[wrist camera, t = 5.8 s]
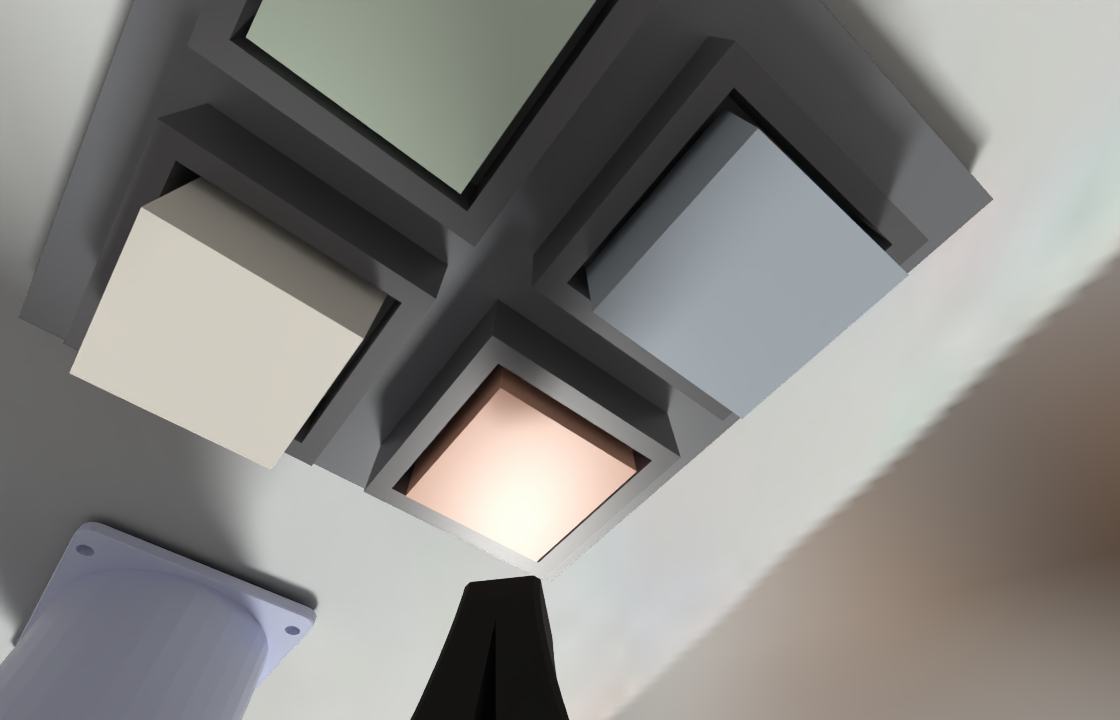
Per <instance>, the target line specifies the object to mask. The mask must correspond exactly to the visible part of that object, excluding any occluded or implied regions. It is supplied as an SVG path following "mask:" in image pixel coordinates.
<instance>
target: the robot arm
mask: <svg viewBox="0 0 1120 720" xmlns="http://www.w3.org/2000/svg"><path fill="white" fill-rule="evenodd" d="M315 620H316V613H315V612H314V611H313V610H312V609H311V608H309V607H307V606H305V605H302V604H300V603H297V602H295V601H292V600H290V599H287V598H285V597H282V596H280V595H277V594H275V593H272V592H270V591H267V590H265V589H262V588H260V587H258V586H255V585H253V584H250V583H248V582H245V581H243V580H240V579H238V578H235V577H233V576H230V575H228V574H225V573H223V572H220V571H218V570H215V569H213V568H211V567H208V566H206V565H203V564H201V563H198V562H196V561H193V560H191V559H188V558H186V557H183V556H181V555H178V554H176V553H173V552H171V551H168V550H166V549H164V548H161V547H159V546H156V545H154V544H151V543H149V542H146V541H144V540H141V539H139V538H136V537H134V536H131V535H129V534H126V533H124V532H121V531H119V530H117V529H114V528H112V527H109V526H107V525H104V524H101V523H98V522H87V523H83V524H82V525H81V526H80V527H79V529H78V530H77V531H76V532H75V533H74V535H73V536H72V538H71V540H70V542H69V544H68V546H67V548H66V550H65V552H64V554H63V556H62V558H61V559H60V561H59V563H58V565H57V567H56V569H55V571H54V573H53V575H52V577H51V579H50V581H49V582H48V584H47V586H46V588H45V590H44V592H43V594H42V596H41V598H40V600H39V602H38V604H37V605H36V607H35V609H34V611H33V613H32V615H31V617H30V619H29V621H28V623H27V625H26V627H25V628H24V630H23V632H22V634H21V636H20V638H19V640H18V642H17V644H16V646H15V647H14V649H13V650H12V651H11V652H10V654H9V655H8V656H7V657H6V658H5V660H4V661H3V662H2V663H1V665H0V720H242V718H243V716H244V713H245V711H246V708H247V706H248V704H249V701H250V699H251V696H252V694H253V692H254V691H255V690H256V689H257V688H258V687H259V686H260V685H261V683H262V682H263V681H264V680H265V679H266V678H267V677H268V676H269V675H270V673H271V672H272V671H273V670H274V669H275V668H276V667H277V666H278V665H279V664H280V662H281V661H282V660H283V659H284V658H285V657H286V656H287V655H288V654H289V653H290V651H291V650H292V649H293V648H294V647H295V646H296V645H297V644H298V643H299V642H300V640H301V639H302V638H303V637H304V636H305V635H306V634H307V633H308V632H309V630H310V629H311V628H312V627H313V625H314V622H315ZM411 720H569V718H568V715H567V712H566V708H565V705H564V702H563V699H562V695H561V692H560V688H559V685H558V681H557V678H556V671H555V663H554V652H553V640H552V634H551V629H550V624H549V619H548V614H547V609H546V604H545V599H544V594H543V589H542V585H541V580H540V579H539V578H537V577H536V576H534V575H533V576H524V577H515V578H505V579H496V580H486V581H477V582H470V583H469V584H468V585H467V586H466V587H465V589H464V592H463V595H462V598H461V601H460V604H459V607H458V610H457V613H456V616H455V618H454V621H453V624H452V626H451V629H450V631H449V634H448V637H447V639H446V641H445V644H444V646H443V649H442V651H441V654H440V656H439V659H438V661H437V663H436V665H435V668H434V670H433V672H432V674H431V677H430V679H429V681H428V683H427V686H426V688H425V690H424V692H423V694H422V697H421V699H420V701H419V703H418V705H417V707H416V710H415V712H414V714H413V716H412V718H411Z"/></svg>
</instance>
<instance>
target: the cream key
mask: <svg viewBox="0 0 1120 720" xmlns="http://www.w3.org/2000/svg"><path fill="white" fill-rule="evenodd" d="M386 296H387V293H385V292H384V291H382V290H381V289H379V288H377V287H376V286H374V285H373V284H371V283H369V282H368V281H366V280H365V279H363V278H361V277H360V276H358V275H357V274H355V273H354V272H352V271H350V270H349V269H347V268H346V267H344V266H342V265H341V264H339V263H338V262H336V261H335V260H333V259H331V258H330V257H328V256H327V255H325V254H323V253H322V252H320V251H319V250H317V249H315V248H314V247H312V246H311V245H309V244H308V243H306V242H304V241H303V240H301V239H300V238H298V237H296V236H295V235H293V234H292V233H290V232H289V231H287V230H285V229H284V228H282V227H281V226H279V225H277V224H276V223H274V222H273V221H271V220H269V219H268V218H266V217H265V216H263V215H262V214H260V213H258V212H257V211H255V210H254V209H252V208H250V207H249V206H247V205H246V204H244V203H242V202H241V201H239V200H238V199H236V198H235V197H233V196H231V195H230V194H228V193H227V192H225V191H223V190H222V189H220V188H219V187H217V186H216V185H214V184H212V183H211V182H209V181H208V180H206V179H204V178H203V177H200V178H198V179H196V180H194V181H192V182H190V183H188V184H186V185H184V186H182V187H180V188H178V189H176V190H174V191H172V192H170V193H168V194H166V195H164V196H162V197H160V198H158V199H156V200H154V201H152V202H150V203H148V204H146V205H144V206H142V207H141V209H140V211H139V213H138V216H137V218H136V220H135V223H134V225H133V227H132V229H131V232H130V234H129V236H128V239H127V241H126V243H125V246H124V248H123V250H122V253H121V255H120V257H119V260H118V262H117V264H116V266H115V269H114V271H113V273H112V276H111V278H110V280H109V283H108V285H107V287H106V290H105V292H104V294H103V296H102V299H101V301H100V303H99V306H98V308H97V310H96V313H95V315H94V317H93V320H92V322H91V324H90V326H89V329H88V331H87V333H86V336H85V338H84V340H83V343H82V345H81V347H80V350H79V352H78V354H77V356H76V359H75V361H74V363H73V366H72V368H71V370H70V374H72V375H74V376H76V377H78V378H80V379H82V380H84V381H87V382H89V383H91V384H93V385H95V386H97V387H99V388H101V389H103V390H105V391H107V392H109V393H112V394H114V395H116V396H118V397H120V398H122V399H124V400H126V401H128V402H130V403H132V404H135V405H137V406H139V407H141V408H143V409H145V410H147V411H149V412H151V413H153V414H155V415H158V416H160V417H162V418H164V419H166V420H168V421H170V422H172V423H174V424H176V425H178V426H181V427H183V428H185V429H187V430H189V431H191V432H193V433H195V434H197V435H199V436H201V437H204V438H206V439H208V440H210V441H212V442H214V443H216V444H218V445H220V446H222V447H224V448H227V449H229V450H231V451H233V452H235V453H237V454H239V455H241V456H243V457H245V458H247V459H249V460H252V461H254V462H256V463H258V464H260V465H262V466H264V467H266V468H268V469H270V470H272V469H273V467H274V466H275V464H276V463H277V462H278V460H279V459H280V457H281V456H282V454H283V453H284V452H285V450H286V449H287V447H288V446H289V444H290V443H291V442H292V440H293V439H294V437H295V436H296V435H297V433H298V432H299V430H300V429H301V427H302V426H303V425H304V423H305V422H306V420H307V419H308V417H309V416H310V415H311V413H312V412H313V410H314V409H315V407H316V406H317V405H318V403H319V402H320V400H321V399H322V398H323V396H324V395H325V393H326V392H327V390H328V389H329V388H330V386H331V385H332V383H333V382H334V380H335V379H336V378H337V376H338V375H339V373H340V372H341V371H342V369H343V368H344V366H345V365H346V363H347V362H348V361H349V359H350V358H351V356H352V355H353V353H354V352H355V351H356V349H357V348H358V346H359V345H360V344H361V342H362V341H363V339H364V338H365V336H366V334H367V332H368V330H369V328H370V326H371V324H372V323H373V321H374V319H375V317H376V315H377V313H378V311H379V309H380V307H381V306H382V304H383V302H384V300H385V298H386Z"/></svg>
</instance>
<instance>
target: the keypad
mask: <svg viewBox="0 0 1120 720" xmlns="http://www.w3.org/2000/svg"><path fill="white" fill-rule="evenodd" d="M262 1H263V0H134V1H133V4H132V7H131V10H130V12H129V15H128V18H127V21H126V23H125V26H124V29H123V32H122V35H121V37H120V40H119V43H118V46H117V48H116V51H115V54H114V57H113V59H112V62H111V65H110V68H109V70H108V73H107V76H106V79H105V81H104V84H103V87H102V90H101V92H100V95H99V98H98V101H97V103H96V106H95V109H94V112H93V114H92V117H91V120H90V123H89V126H88V128H87V131H86V134H85V137H84V139H83V142H82V145H81V148H80V150H79V153H78V156H77V159H76V161H75V164H74V167H73V170H72V172H71V175H70V178H69V181H68V183H67V186H66V189H65V192H64V194H63V197H62V200H61V203H60V206H59V208H58V211H57V214H56V217H55V219H54V222H53V225H52V228H51V230H50V233H49V236H48V239H47V241H46V244H45V247H44V250H43V252H42V255H41V258H40V261H39V263H38V266H37V269H36V272H35V274H34V277H33V280H32V283H31V286H30V288H29V291H28V294H27V297H26V299H25V302H24V305H23V308H22V310H21V313H20V316H19V318H21V319H23V320H25V321H27V322H29V323H31V324H33V325H35V326H37V327H39V328H41V329H43V330H45V331H47V332H49V333H51V334H53V335H55V336H57V337H59V338H62V339H64V340H65V341H64V344H66V345H68V346H70V347H72V348H74V349H76V350H78V351H79V350H80V347H81V345H82V343H83V340H84V338H85V336H86V333H87V331H88V329H89V326H90V324H91V322H92V320H93V317H94V315H95V313H96V310H97V308H98V306H99V303H100V301H101V299H102V296H103V294H104V292H105V290H106V287H107V285H108V283H109V280H110V278H111V276H112V273H113V271H114V269H115V266H116V264H117V262H118V260H119V257H120V255H121V253H122V250H123V248H124V246H125V243H126V241H127V239H128V236H129V234H130V232H131V229H132V227H133V225H134V223H135V220H136V218H137V216H138V213H139V211H140V209H141V207H142V206H144V205H146V204H148V203H150V202H152V201H154V200H156V199H158V198H160V197H162V196H164V195H166V194H168V193H170V192H172V191H174V190H176V189H178V188H180V187H182V186H184V185H186V184H188V183H190V182H192V181H194V180H196V179H198V178H200V177H203V178H204V179H206V180H208V181H209V182H211V183H212V184H214V185H216V186H217V187H219V188H220V189H222V190H223V191H225V192H227V193H228V194H230V195H231V196H233V197H235V198H236V199H238V200H239V201H241V202H242V203H244V204H246V205H247V206H249V207H250V208H252V209H254V210H255V211H257V212H258V213H260V214H262V215H263V216H265V217H266V218H268V219H269V220H271V221H273V222H274V223H276V224H277V225H279V226H281V227H282V228H284V229H285V230H287V231H289V232H290V233H292V234H293V235H295V236H296V237H298V238H300V239H301V240H303V241H304V242H306V243H308V244H309V245H311V246H312V247H314V248H315V249H317V250H319V251H320V252H322V253H323V254H325V255H327V256H328V257H330V258H331V259H333V260H335V261H336V262H338V263H339V264H341V265H342V266H344V267H346V268H347V269H349V270H350V271H352V272H354V273H355V274H357V275H358V276H360V277H361V278H363V279H365V280H366V281H368V282H369V283H371V284H373V285H374V286H376V287H377V288H379V289H381V290H382V291H384V292H385V293H387V296H386V298H385V300H384V302H383V304H382V306H381V307H380V309H379V311H378V313H377V315H376V317H375V319H374V321H373V323H372V324H371V326H370V328H369V330H368V332H367V334H366V336H365V338H364V339H363V341H362V342H361V344H360V345H359V346H358V348H357V349H356V351H355V352H354V353H353V355H352V356H351V358H350V359H349V361H348V362H347V363H346V365H345V366H344V368H343V369H342V371H341V372H340V373H339V375H338V376H337V378H336V379H335V380H334V382H333V383H332V385H331V386H330V388H329V389H328V390H327V392H326V393H325V395H324V396H323V398H322V399H321V400H320V402H319V403H318V405H317V406H316V407H315V409H314V410H313V412H312V413H311V415H310V416H309V417H308V419H307V420H306V422H305V423H304V425H303V426H302V427H301V429H300V430H299V432H298V433H297V435H296V436H295V437H294V439H293V440H292V442H291V443H290V444H289V446H288V447H287V449H286V450H285V453H287V454H289V455H291V456H293V457H295V458H297V459H299V460H301V461H303V462H305V463H307V464H309V465H311V466H312V465H313V463H314V464H316V465H318V466H320V467H322V468H324V469H326V470H328V471H330V472H332V473H334V474H336V475H338V476H340V477H342V478H344V479H346V480H348V481H350V482H352V483H354V484H356V485H358V486H360V487H362V488H364V492H366V493H368V494H370V495H372V496H374V497H376V498H378V499H380V500H382V501H384V502H386V503H388V504H390V505H392V506H394V507H396V508H398V509H400V510H402V511H404V512H406V513H408V514H410V515H412V516H414V517H416V518H419V519H421V520H423V521H425V522H427V523H429V524H431V525H433V526H435V527H437V528H439V529H441V530H443V531H445V532H447V533H449V534H451V535H453V536H455V537H457V538H459V539H461V540H463V541H465V542H467V543H469V544H471V545H473V546H475V547H477V548H479V549H481V550H483V551H485V552H487V553H489V554H492V555H494V556H496V557H498V558H500V559H502V560H504V561H506V562H508V563H510V564H512V565H514V566H516V567H518V568H520V569H522V570H524V571H526V572H528V573H530V574H532V575H534V576H536V577H538V578H540V579H543V578H546V579H548V580H550V581H552V580H554V579H555V578H556V577H557V576H558V575H559V574H561V573H562V572H563V571H564V570H565V569H566V568H568V567H569V566H570V565H571V564H572V563H573V562H574V561H576V560H577V559H578V558H579V557H580V556H581V555H583V554H584V553H585V552H586V551H587V550H588V549H589V548H591V547H592V546H593V545H594V544H595V543H596V542H598V541H599V540H600V539H601V538H602V537H603V536H605V535H606V534H607V533H608V532H609V531H610V530H611V529H613V528H614V527H615V526H616V525H617V524H618V523H620V522H621V521H622V520H623V519H624V518H625V517H626V516H628V515H629V514H630V513H631V512H632V511H633V510H635V509H636V508H637V507H638V506H639V505H640V504H642V503H643V502H644V501H645V500H646V499H647V498H648V497H650V496H651V495H652V494H653V493H654V492H655V491H657V490H658V489H659V488H660V487H661V486H662V485H663V484H665V483H666V482H667V481H668V480H669V479H670V478H672V477H673V476H674V475H675V474H676V473H677V472H679V471H680V470H681V469H682V468H683V467H684V466H685V465H687V464H688V463H689V462H690V461H691V460H692V459H694V458H695V457H696V456H697V455H698V454H699V453H700V452H702V451H703V450H704V449H705V448H706V447H707V446H709V445H710V444H711V443H712V442H713V441H714V440H716V439H717V438H718V437H719V436H720V435H721V434H722V433H724V432H725V431H726V430H727V429H728V428H729V427H731V426H732V425H733V424H734V423H735V422H736V421H737V420H739V419H740V417H739V416H738V415H736V414H735V413H733V412H732V411H731V410H729V409H728V408H726V407H725V406H724V405H722V404H721V403H719V402H718V401H717V400H715V399H714V398H712V397H711V396H710V395H708V394H707V393H705V392H704V391H703V390H701V389H700V388H698V387H697V386H696V385H694V384H693V383H691V382H690V381H689V380H687V379H686V378H684V377H683V376H682V375H680V374H679V373H677V372H676V371H675V370H673V369H672V368H670V367H669V366H668V365H666V364H665V363H663V362H662V361H661V360H659V359H658V358H656V357H655V356H654V355H652V354H651V353H649V352H648V351H647V350H645V349H644V348H642V347H641V346H640V345H638V344H637V343H635V342H634V341H633V340H631V339H630V338H628V337H627V336H626V335H624V334H623V333H621V332H620V331H619V330H617V329H616V328H614V327H613V326H612V325H610V324H609V323H607V322H606V321H605V320H603V319H602V318H600V317H599V316H598V315H596V314H595V313H593V311H592V305H591V299H590V293H589V287H588V281H587V275H586V268H587V267H588V266H589V265H590V264H591V263H592V261H593V260H594V259H595V258H596V257H597V256H598V254H599V253H600V252H601V251H602V250H603V249H604V247H605V246H606V245H607V244H608V243H609V242H610V241H611V239H612V238H613V237H614V236H615V235H616V234H617V232H618V231H619V230H620V229H621V228H622V227H623V225H624V224H625V223H626V222H627V221H628V220H629V218H630V217H631V216H632V215H633V214H634V213H635V211H636V210H637V209H638V208H639V207H640V206H641V204H642V203H643V202H644V201H645V200H646V199H647V198H648V196H649V195H650V194H651V193H652V192H653V191H654V189H655V188H656V187H657V186H658V185H659V184H660V182H661V181H662V180H663V179H664V178H665V177H666V175H667V174H668V173H669V172H670V171H671V170H672V168H673V167H674V166H675V165H676V164H677V163H678V161H679V160H680V159H681V158H682V157H683V156H684V154H685V153H686V152H687V151H688V150H689V149H690V148H691V146H692V145H693V144H694V143H695V142H696V141H697V139H698V138H699V137H700V136H701V135H702V134H703V132H704V131H705V130H706V129H707V128H708V127H709V125H710V124H711V123H712V122H713V121H714V120H715V118H716V117H717V116H718V115H719V114H720V113H721V111H722V110H723V109H726V110H727V111H729V112H731V113H733V114H734V115H736V116H738V117H740V118H741V119H743V120H745V121H747V122H748V123H750V124H752V125H754V126H755V127H757V128H759V129H760V130H761V131H762V132H763V133H764V134H765V135H766V136H767V137H768V138H769V139H770V140H771V141H772V142H773V143H774V144H775V145H776V146H777V147H778V148H779V149H780V150H781V151H782V152H783V153H784V154H785V155H786V156H787V157H788V158H789V159H790V160H791V161H792V162H794V163H795V164H796V165H797V166H798V167H799V168H800V169H801V170H802V171H803V172H804V173H805V174H806V175H807V176H808V177H809V178H810V179H811V180H812V181H813V182H814V183H815V184H816V185H817V186H818V187H819V188H820V189H821V190H822V191H823V192H824V193H825V194H826V195H827V196H828V197H829V198H830V199H831V200H832V201H833V202H835V203H836V204H837V205H838V206H839V207H840V208H841V209H842V210H843V211H844V212H845V213H846V214H847V215H848V216H849V217H850V218H851V219H852V220H853V221H854V222H855V223H856V224H857V225H858V226H859V227H860V228H861V229H862V230H863V231H864V232H865V233H866V234H867V235H868V236H869V237H870V238H871V239H872V240H873V241H875V242H876V243H877V244H878V245H879V246H880V247H881V248H882V249H883V250H884V251H885V252H886V253H887V254H888V255H889V256H890V257H891V258H892V259H893V260H894V261H895V262H896V263H897V264H898V265H899V266H900V267H901V268H902V269H903V270H904V271H905V272H906V273H909V272H910V271H911V270H912V269H913V268H914V267H916V266H917V265H918V264H919V263H920V262H921V261H922V260H924V259H925V258H926V257H927V256H928V255H929V254H931V253H932V252H933V251H934V250H935V249H936V248H937V247H939V246H940V245H941V244H942V243H943V242H944V241H946V240H947V239H948V238H949V237H950V236H951V235H953V234H954V233H955V232H956V231H957V230H958V229H959V228H961V227H962V226H963V225H964V224H965V223H966V222H968V221H969V220H970V219H971V218H972V217H973V216H974V215H976V214H977V213H978V212H979V211H980V210H981V209H983V208H984V207H985V206H986V205H987V204H988V203H990V202H991V201H992V200H993V198H992V197H991V196H990V195H989V194H988V193H987V191H986V190H985V189H984V188H983V187H982V186H981V185H980V183H979V182H978V181H977V180H976V179H975V178H974V177H973V175H972V174H971V173H970V172H969V171H968V170H967V169H966V167H965V166H964V165H963V164H962V163H961V162H960V160H959V159H958V158H957V157H956V156H955V155H954V154H953V152H952V151H951V150H950V149H949V148H948V147H947V146H946V144H945V143H944V142H943V141H942V140H941V139H940V138H939V136H938V135H937V134H936V133H935V132H934V131H933V130H932V128H931V127H930V126H929V125H928V124H927V123H926V122H925V120H924V119H923V118H922V117H921V116H920V115H919V113H918V112H917V111H916V110H915V109H914V108H913V107H912V105H911V104H910V103H909V102H908V101H907V100H906V99H905V97H904V96H903V95H902V94H901V93H900V92H899V91H898V89H897V88H896V87H895V86H894V85H893V84H892V83H891V81H890V80H889V79H888V78H887V77H886V76H885V74H884V73H883V72H882V71H881V70H880V69H879V68H878V66H877V65H876V64H875V63H874V62H873V61H872V60H871V58H870V57H869V56H868V55H867V54H866V53H865V52H864V50H863V49H862V48H861V47H860V46H859V45H858V44H857V42H856V41H855V40H854V39H853V38H852V37H851V36H850V34H849V33H848V32H847V31H846V30H845V29H844V27H843V26H842V25H841V24H840V23H839V22H838V21H837V19H836V18H835V17H834V16H833V15H832V14H831V13H830V11H829V10H828V9H827V8H826V7H825V6H824V5H823V3H822V2H821V1H820V0H596V1H595V3H594V4H593V6H592V7H591V8H590V10H589V11H588V13H587V14H586V16H585V17H584V18H583V20H582V21H581V23H580V24H579V26H578V27H577V28H576V30H575V31H574V33H573V34H572V36H571V37H570V38H569V40H568V41H567V43H566V44H565V46H564V47H563V48H562V50H561V51H560V53H559V54H558V56H557V57H556V58H555V60H554V61H553V63H552V64H551V66H550V67H549V68H548V70H547V71H546V73H545V74H544V76H543V77H542V78H541V80H540V81H539V83H538V84H537V86H536V87H535V89H534V90H533V91H532V93H531V94H530V96H529V97H528V99H527V100H526V101H525V103H524V104H523V106H522V107H521V109H520V110H519V111H518V113H517V114H516V116H515V117H514V119H513V120H512V121H511V123H510V124H509V126H508V127H507V129H506V130H505V131H504V133H503V134H502V136H501V137H500V139H499V140H498V141H497V143H496V144H495V146H494V147H493V149H492V150H491V151H490V153H489V154H488V156H487V157H486V159H485V160H484V161H483V163H482V164H481V166H480V167H479V169H478V170H477V171H476V173H475V174H474V176H473V177H472V179H471V180H470V181H469V183H468V184H467V186H466V187H465V189H464V190H463V191H462V193H461V194H460V193H458V192H457V191H456V190H454V189H453V188H452V187H450V186H449V185H447V184H446V183H445V182H443V181H442V180H441V179H439V178H438V177H436V176H435V175H434V174H432V173H431V172H430V171H428V170H427V169H426V168H424V167H423V166H421V165H420V164H419V163H417V162H416V161H415V160H413V159H412V158H410V157H409V156H408V155H406V154H405V153H404V152H402V151H401V150H400V149H398V148H397V147H395V146H394V145H393V144H391V143H390V142H389V141H387V140H386V139H384V138H383V137H382V136H380V135H379V134H378V133H376V132H375V131H374V130H372V129H371V128H369V127H368V126H367V125H365V124H364V123H363V122H361V121H360V120H358V119H357V118H356V117H354V116H353V115H352V114H350V113H349V112H347V111H346V110H345V109H343V108H342V107H341V106H339V105H338V104H337V103H335V102H334V101H332V100H331V99H330V98H328V97H327V96H326V95H324V94H323V93H321V92H320V91H319V90H317V89H316V88H315V87H313V86H312V85H311V84H309V83H308V82H306V81H305V80H304V79H302V78H301V77H300V76H298V75H297V74H295V73H294V72H293V71H291V70H290V69H289V68H287V67H286V66H285V65H283V64H282V63H280V62H279V61H278V60H276V59H275V58H274V57H272V56H271V55H269V54H268V53H267V52H265V51H264V50H263V49H261V48H260V47H259V46H257V45H256V44H254V43H253V42H252V41H250V40H249V39H248V38H246V36H247V34H248V31H249V29H250V27H251V25H252V23H253V20H254V18H255V16H256V14H257V12H258V9H259V7H260V5H261V3H262ZM497 364H500V365H501V366H503V367H504V368H506V369H507V370H509V371H511V372H512V373H514V374H515V375H517V376H519V377H520V378H522V379H523V380H525V381H527V382H528V383H530V384H531V385H533V386H534V387H536V388H538V389H539V390H541V391H542V392H544V393H546V394H547V395H549V396H550V397H552V398H554V399H555V400H557V401H558V402H560V403H561V404H563V405H565V406H566V407H568V408H569V409H571V410H573V411H574V412H576V413H577V414H579V415H580V416H582V417H584V418H585V419H587V420H588V421H590V422H592V423H593V424H595V425H596V426H598V427H600V428H601V429H603V430H604V431H606V432H607V433H609V434H611V435H612V436H614V437H615V438H617V439H619V440H620V441H622V442H623V443H625V444H627V445H628V446H630V447H631V448H632V451H633V456H634V461H635V466H636V471H637V472H636V473H634V474H633V475H632V476H631V477H630V478H629V479H628V480H627V481H626V482H625V483H623V484H622V485H621V486H620V487H619V488H618V489H617V490H616V491H615V492H613V493H612V494H611V495H610V496H609V497H608V498H607V499H606V500H605V501H603V502H602V503H601V504H600V505H599V506H598V507H597V508H596V509H595V510H593V511H592V512H591V513H590V514H589V515H588V516H587V517H586V518H585V519H583V520H582V521H581V522H580V523H579V524H578V525H577V526H576V527H575V528H573V529H572V530H571V531H570V532H569V533H568V534H567V535H566V536H565V537H563V538H562V539H561V540H560V541H559V542H558V543H557V544H556V545H555V546H553V547H552V548H551V549H550V550H549V551H548V552H547V553H546V554H545V555H543V556H542V557H541V558H540V559H539V560H538V561H537V562H535V561H533V560H531V559H529V558H527V557H526V556H524V555H522V554H520V553H518V552H516V551H514V550H512V549H510V548H508V547H506V546H504V545H502V544H500V543H498V542H496V541H494V540H492V539H490V538H488V537H486V536H484V535H482V534H480V533H478V532H476V531H474V530H472V529H470V528H468V527H466V526H464V525H462V524H460V523H458V522H456V521H454V520H452V519H450V518H448V517H446V516H444V515H442V514H440V513H438V512H436V511H434V510H432V509H430V508H428V507H426V506H424V505H422V504H420V503H418V502H416V501H414V500H412V499H410V498H408V497H406V493H407V489H408V486H409V482H410V479H411V475H412V471H413V468H414V464H415V461H416V459H417V458H418V457H419V456H420V455H421V453H422V452H423V451H424V450H425V449H426V448H427V446H428V445H429V444H430V443H431V442H432V441H433V439H434V438H435V437H436V436H437V435H438V433H439V432H440V431H441V430H442V429H443V428H444V426H445V425H446V424H447V423H448V422H449V421H450V419H451V418H452V417H453V416H454V415H455V414H456V412H457V411H458V410H459V409H460V408H461V407H462V405H463V404H464V403H465V402H466V401H467V400H468V398H469V397H470V396H471V395H472V394H473V393H474V391H475V390H476V389H477V388H478V387H479V385H480V384H481V383H482V382H483V381H484V380H485V378H486V377H487V376H488V375H489V374H490V373H491V371H492V370H493V369H494V368H495V367H496V366H497Z"/></svg>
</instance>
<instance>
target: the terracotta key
mask: <svg viewBox="0 0 1120 720" xmlns="http://www.w3.org/2000/svg"><path fill="white" fill-rule="evenodd" d="M636 472H637V471H636V466H635V461H634V456H633V451H632V448H631V447H630V446H628V445H627V444H625V443H623V442H622V441H620V440H619V439H617V438H615V437H614V436H612V435H611V434H609V433H607V432H606V431H604V430H603V429H601V428H600V427H598V426H596V425H595V424H593V423H592V422H590V421H588V420H587V419H585V418H584V417H582V416H580V415H579V414H577V413H576V412H574V411H573V410H571V409H569V408H568V407H566V406H565V405H563V404H561V403H560V402H558V401H557V400H555V399H554V398H552V397H550V396H549V395H547V394H546V393H544V392H542V391H541V390H539V389H538V388H536V387H534V386H533V385H531V384H530V383H528V382H527V381H525V380H523V379H522V378H520V377H519V376H517V375H515V374H514V373H512V372H511V371H509V370H507V369H506V368H504V367H503V366H501V365H500V364H497V366H496V367H495V368H494V369H493V370H492V371H491V373H490V374H489V375H488V376H487V377H486V378H485V380H484V381H483V382H482V383H481V384H480V385H479V387H478V388H477V389H476V390H475V391H474V393H473V394H472V395H471V396H470V397H469V398H468V400H467V401H466V402H465V403H464V404H463V405H462V407H461V408H460V409H459V410H458V411H457V412H456V414H455V415H454V416H453V417H452V418H451V419H450V421H449V422H448V423H447V424H446V425H445V426H444V428H443V429H442V430H441V431H440V432H439V433H438V435H437V436H436V437H435V438H434V439H433V441H432V442H431V443H430V444H429V445H428V446H427V448H426V449H425V450H424V451H423V452H422V453H421V455H420V456H419V457H418V458H417V459H416V461H415V464H414V468H413V471H412V475H411V479H410V482H409V486H408V489H407V493H406V497H408V498H410V499H412V500H414V501H416V502H418V503H420V504H422V505H424V506H426V507H428V508H430V509H432V510H434V511H436V512H438V513H440V514H442V515H444V516H446V517H448V518H450V519H452V520H454V521H456V522H458V523H460V524H462V525H464V526H466V527H468V528H470V529H472V530H474V531H476V532H478V533H480V534H482V535H484V536H486V537H488V538H490V539H492V540H494V541H496V542H498V543H500V544H502V545H504V546H506V547H508V548H510V549H512V550H514V551H516V552H518V553H520V554H522V555H524V556H526V557H527V558H529V559H531V560H533V561H535V562H537V561H538V560H539V559H540V558H541V557H542V556H543V555H545V554H546V553H547V552H548V551H549V550H550V549H551V548H552V547H553V546H555V545H556V544H557V543H558V542H559V541H560V540H561V539H562V538H563V537H565V536H566V535H567V534H568V533H569V532H570V531H571V530H572V529H573V528H575V527H576V526H577V525H578V524H579V523H580V522H581V521H582V520H583V519H585V518H586V517H587V516H588V515H589V514H590V513H591V512H592V511H593V510H595V509H596V508H597V507H598V506H599V505H600V504H601V503H602V502H603V501H605V500H606V499H607V498H608V497H609V496H610V495H611V494H612V493H613V492H615V491H616V490H617V489H618V488H619V487H620V486H621V485H622V484H623V483H625V482H626V481H627V480H628V479H629V478H630V477H631V476H632V475H633V474H634V473H636Z"/></svg>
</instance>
